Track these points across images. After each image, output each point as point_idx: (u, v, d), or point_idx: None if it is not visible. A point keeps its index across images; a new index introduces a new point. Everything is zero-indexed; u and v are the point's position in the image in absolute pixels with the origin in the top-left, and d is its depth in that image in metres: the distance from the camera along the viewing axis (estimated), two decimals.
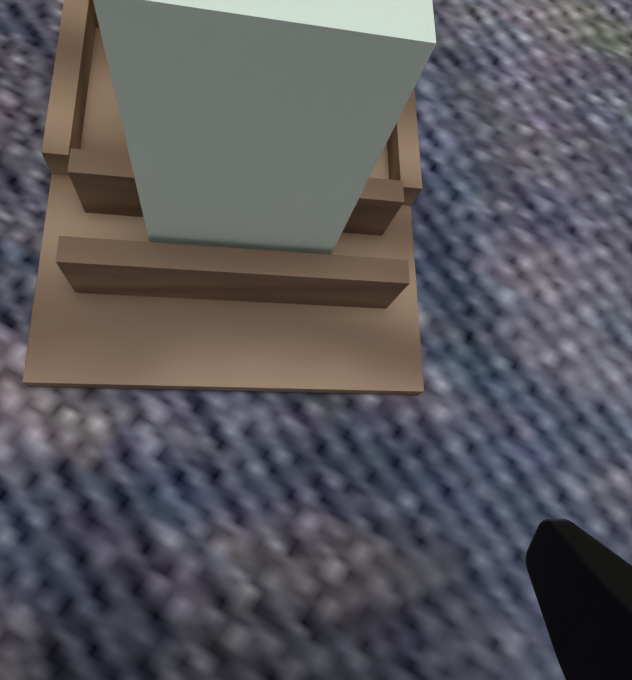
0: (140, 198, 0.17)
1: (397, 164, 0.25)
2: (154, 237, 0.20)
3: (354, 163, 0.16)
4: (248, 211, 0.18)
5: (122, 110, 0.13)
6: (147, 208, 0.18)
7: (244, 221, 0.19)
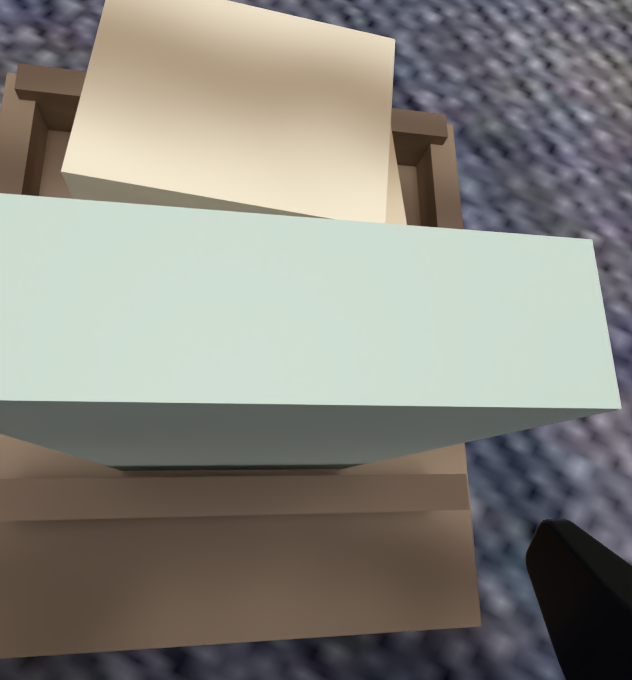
0: (86, 459, 0.12)
1: None
2: (115, 466, 0.14)
3: (414, 446, 0.10)
4: (247, 459, 0.12)
5: (25, 439, 0.08)
6: (99, 461, 0.12)
7: (241, 460, 0.13)
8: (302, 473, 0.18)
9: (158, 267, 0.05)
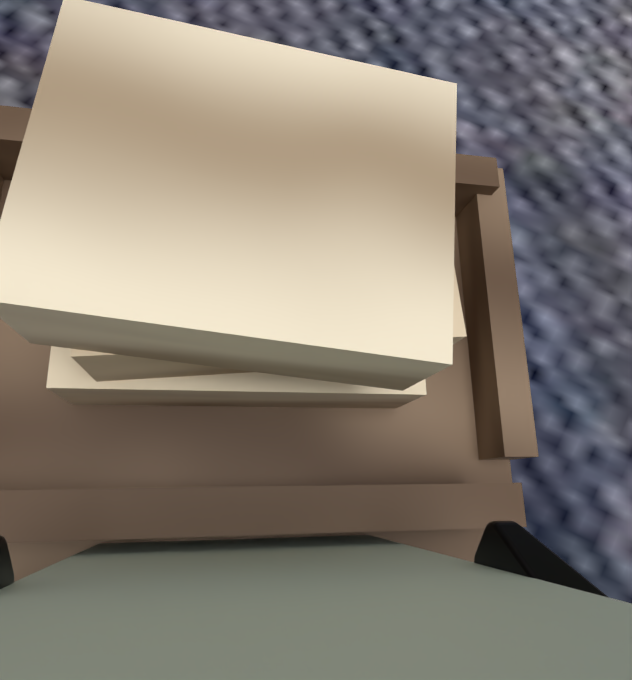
0: None
1: (496, 410, 0.15)
2: None
3: None
4: None
5: None
6: None
7: None
8: None
9: None
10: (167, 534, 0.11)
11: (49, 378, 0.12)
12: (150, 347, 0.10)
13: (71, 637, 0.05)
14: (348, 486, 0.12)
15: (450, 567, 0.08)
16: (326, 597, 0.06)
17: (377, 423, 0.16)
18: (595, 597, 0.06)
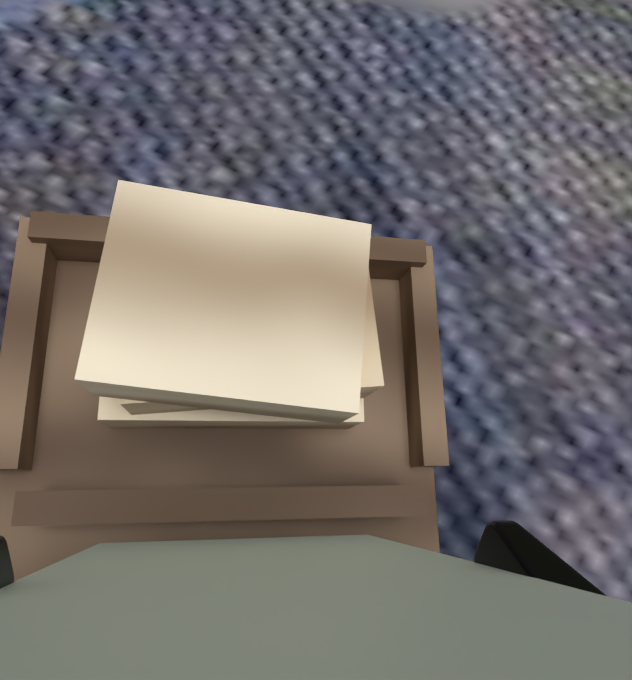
0: None
1: (419, 431, 0.21)
2: None
3: None
4: None
5: None
6: None
7: None
8: None
9: None
10: (181, 519, 0.17)
11: (99, 413, 0.18)
12: (172, 400, 0.15)
13: (72, 636, 0.05)
14: (305, 487, 0.18)
15: (450, 566, 0.08)
16: (326, 596, 0.06)
17: (333, 440, 0.21)
18: (594, 596, 0.06)
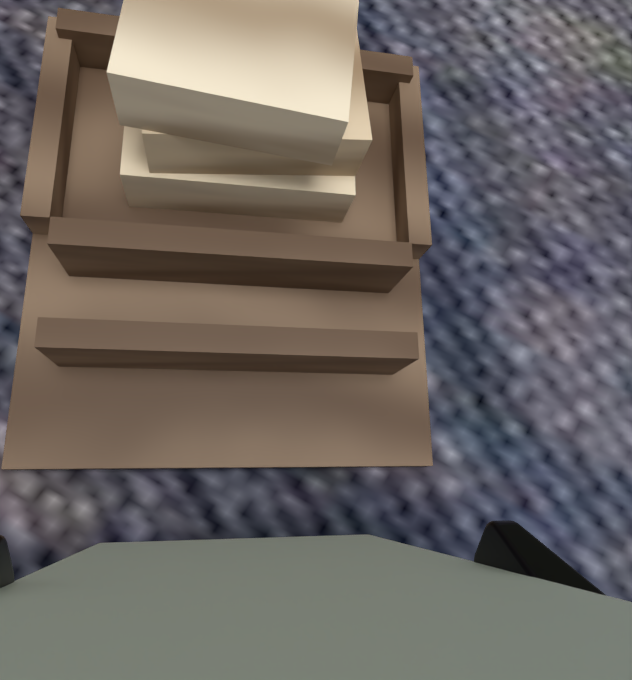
0: None
1: (405, 218, 0.23)
2: None
3: None
4: None
5: None
6: None
7: None
8: None
9: None
10: (194, 251, 0.19)
11: (121, 169, 0.20)
12: (187, 122, 0.17)
13: (71, 634, 0.05)
14: (302, 235, 0.20)
15: (450, 566, 0.08)
16: (326, 596, 0.06)
17: (329, 231, 0.24)
18: (596, 596, 0.06)
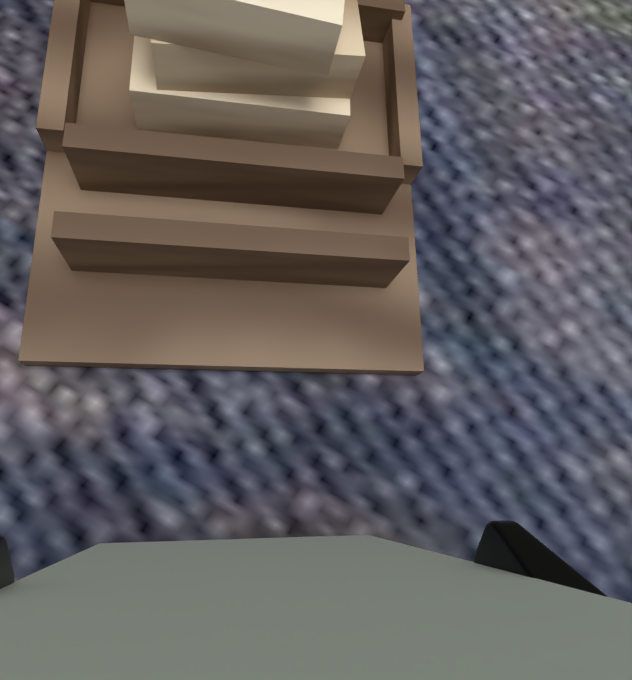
0: None
1: (398, 142, 0.24)
2: None
3: None
4: None
5: None
6: None
7: None
8: None
9: None
10: (199, 158, 0.20)
11: (130, 85, 0.21)
12: (193, 29, 0.19)
13: (71, 637, 0.05)
14: (300, 146, 0.21)
15: (451, 567, 0.08)
16: (326, 597, 0.06)
17: None
18: (596, 596, 0.06)
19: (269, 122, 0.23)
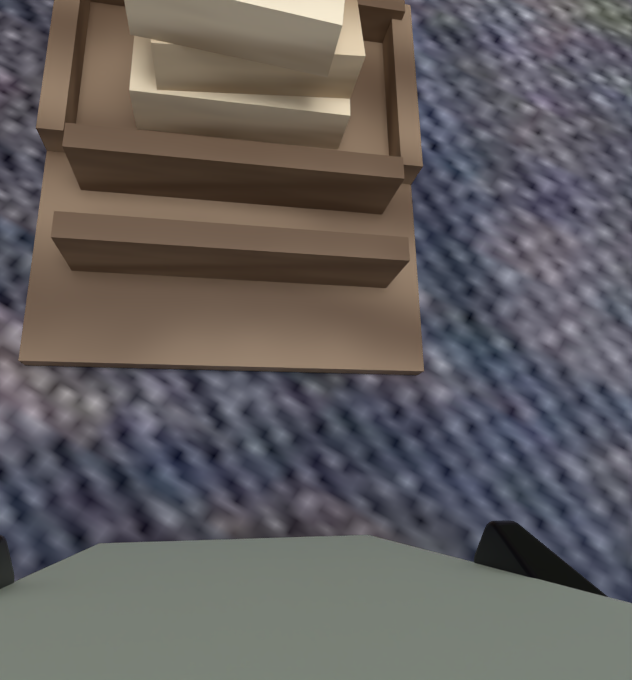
0: None
1: (398, 142, 0.24)
2: None
3: None
4: None
5: None
6: None
7: None
8: None
9: None
10: (199, 158, 0.20)
11: (130, 85, 0.21)
12: (193, 29, 0.19)
13: (71, 637, 0.05)
14: (300, 146, 0.21)
15: (451, 567, 0.08)
16: (326, 597, 0.06)
17: None
18: (596, 597, 0.06)
19: (269, 122, 0.23)
